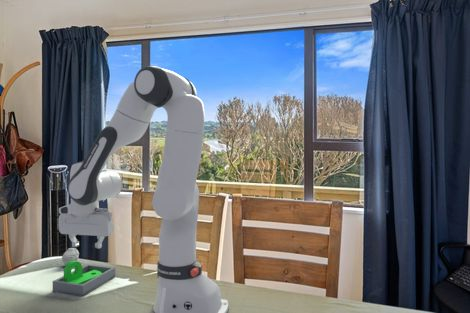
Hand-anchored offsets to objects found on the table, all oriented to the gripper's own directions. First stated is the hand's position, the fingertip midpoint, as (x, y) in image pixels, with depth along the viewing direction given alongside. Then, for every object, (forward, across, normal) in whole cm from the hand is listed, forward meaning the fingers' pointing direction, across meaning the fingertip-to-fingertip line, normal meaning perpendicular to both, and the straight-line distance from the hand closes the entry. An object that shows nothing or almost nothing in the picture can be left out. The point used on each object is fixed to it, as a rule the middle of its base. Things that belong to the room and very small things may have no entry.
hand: (87, 247), depth 119 cm
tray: (+13, +1, 0) cm, 13 cm away
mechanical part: (+12, +1, +1) cm, 12 cm away
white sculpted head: (+13, +19, -13) cm, 26 cm away
